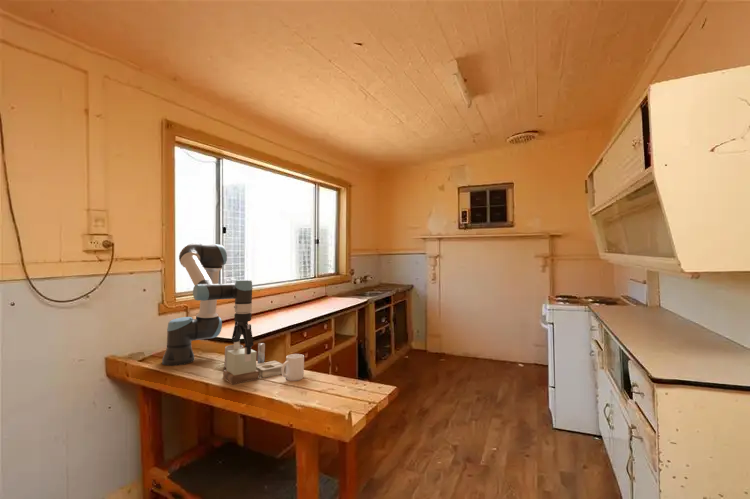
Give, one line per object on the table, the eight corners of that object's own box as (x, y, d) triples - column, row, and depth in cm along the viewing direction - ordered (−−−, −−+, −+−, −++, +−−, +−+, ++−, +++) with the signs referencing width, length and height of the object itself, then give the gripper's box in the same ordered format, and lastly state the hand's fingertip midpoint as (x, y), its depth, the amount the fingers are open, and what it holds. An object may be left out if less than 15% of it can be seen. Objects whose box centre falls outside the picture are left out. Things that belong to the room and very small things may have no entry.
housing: (226, 370, 161) (227, 350, 161) (247, 366, 167) (248, 347, 168) (234, 375, 153) (234, 355, 154) (255, 371, 160) (256, 351, 160)
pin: (256, 367, 178) (257, 343, 179) (262, 365, 180) (263, 342, 181) (259, 368, 175) (259, 344, 176) (265, 367, 178) (266, 343, 178)
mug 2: (286, 384, 153) (287, 361, 153) (275, 380, 158) (275, 357, 158) (307, 377, 162) (307, 355, 163) (295, 374, 167) (296, 352, 168)
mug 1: (231, 369, 174) (232, 349, 174) (219, 366, 178) (220, 346, 179) (249, 364, 183) (249, 345, 184) (237, 361, 188) (238, 343, 188)
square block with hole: (252, 371, 170) (252, 364, 170) (275, 367, 178) (275, 360, 178) (262, 377, 161) (263, 370, 161) (286, 372, 169) (286, 365, 169)
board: (223, 377, 160) (224, 352, 161) (248, 372, 168) (249, 349, 169) (232, 384, 152) (233, 358, 152) (258, 378, 160) (259, 353, 160)
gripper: (225, 310, 168) (224, 354, 167) (245, 316, 150) (244, 365, 148) (241, 309, 173) (239, 352, 172) (262, 314, 155) (260, 362, 154)
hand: (241, 358), depth 160 cm, fingers open, 13 cm apart
